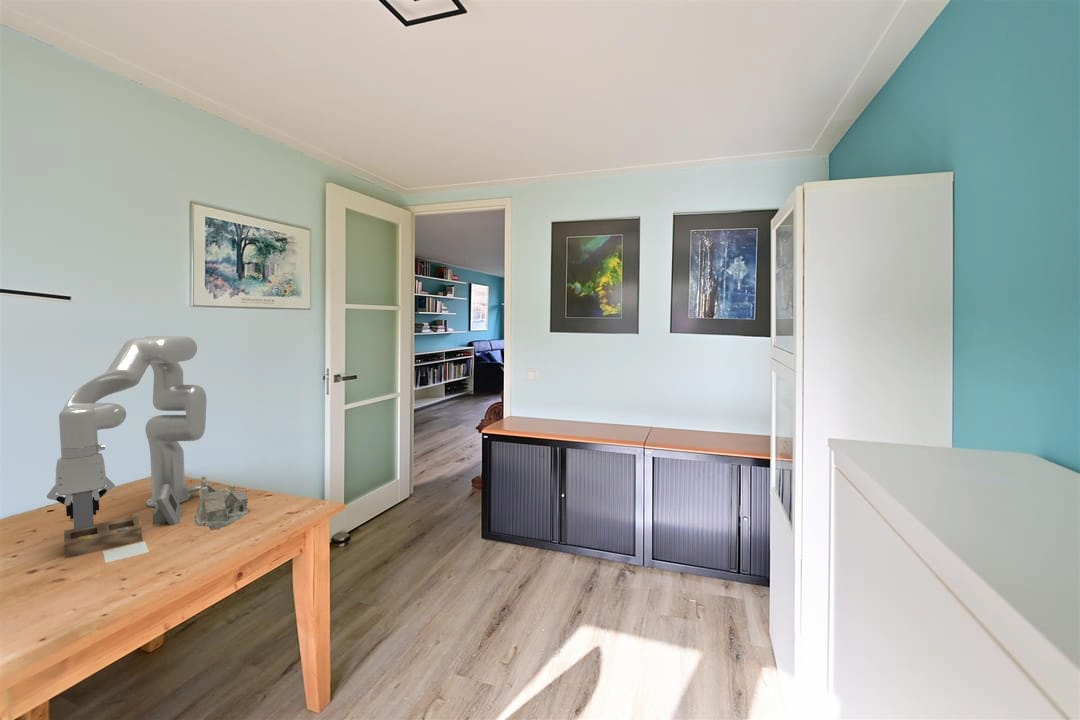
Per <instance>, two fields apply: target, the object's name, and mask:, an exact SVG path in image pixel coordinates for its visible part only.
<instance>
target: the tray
mask: <svg viewBox="0 0 1080 720" xmlns="http://www.w3.org/2000/svg"><path fill="white" fill-rule="evenodd" d="M102 553H103V558H104V563H105V564H107V563H111V562H116V561H119V560H125V559H127V558H132V557H135V556H139V555H143V554H147V553H149V548H148V546H147V543H146V541H139V542H135V543H131V544H127V545H123V546H118V547H114V548H112V549H111V548H110V549H106V550H102Z"/></svg>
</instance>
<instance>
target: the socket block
mask: <svg viewBox="0 0 1080 720" xmlns="http://www.w3.org/2000/svg"><path fill="white" fill-rule="evenodd" d="M142 531H143V530H142V525H141V523H140V521H139V518H138V516H137V515H135V516H129V517H125V518H120V519H119V518H118V519H114V520H109V521H105V522H100V523H96V524H94V527H89V528H84V529H80V530H75V531H74V528H71V529H64V531H63V532H64V533H63V536H64V537H63V540H64V545H63V546H64V559H69V558H73V557H77V556H82V555H85V554H89V553H90V554H91V553H95V552H98V551H105V550H109V549H111V548H112V549H113V548H117V547H122V546H126V545H130V544H134V543H139V542H143V532H142Z"/></svg>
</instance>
